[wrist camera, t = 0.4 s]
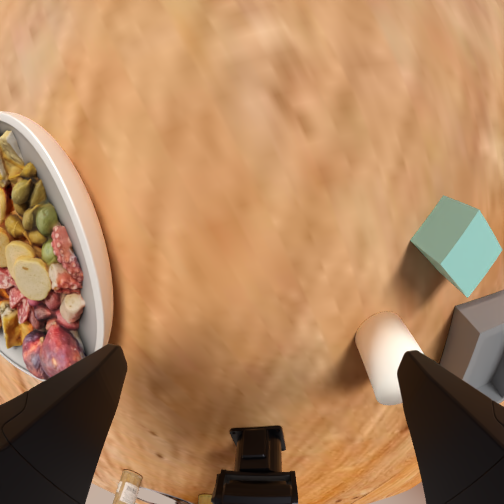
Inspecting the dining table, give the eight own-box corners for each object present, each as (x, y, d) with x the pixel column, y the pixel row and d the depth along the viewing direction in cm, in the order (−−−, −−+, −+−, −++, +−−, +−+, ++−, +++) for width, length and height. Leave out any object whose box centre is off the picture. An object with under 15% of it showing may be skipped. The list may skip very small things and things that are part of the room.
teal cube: (469, 230, 20) (502, 249, 15) (438, 271, 21) (467, 297, 17) (442, 195, 19) (479, 209, 14) (409, 240, 21) (440, 264, 16)
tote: (490, 380, 28) (504, 400, 23) (421, 410, 29) (433, 435, 24) (527, 280, 21) (550, 298, 17) (455, 306, 23) (480, 333, 18)
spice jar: (119, 467, 40) (102, 515, 28) (133, 469, 40) (118, 520, 27) (132, 477, 42) (118, 522, 29) (147, 479, 41) (133, 527, 29)
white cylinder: (399, 346, 25) (424, 395, 18) (353, 357, 25) (372, 410, 18) (405, 306, 23) (438, 354, 16) (356, 317, 23) (380, 371, 17)
